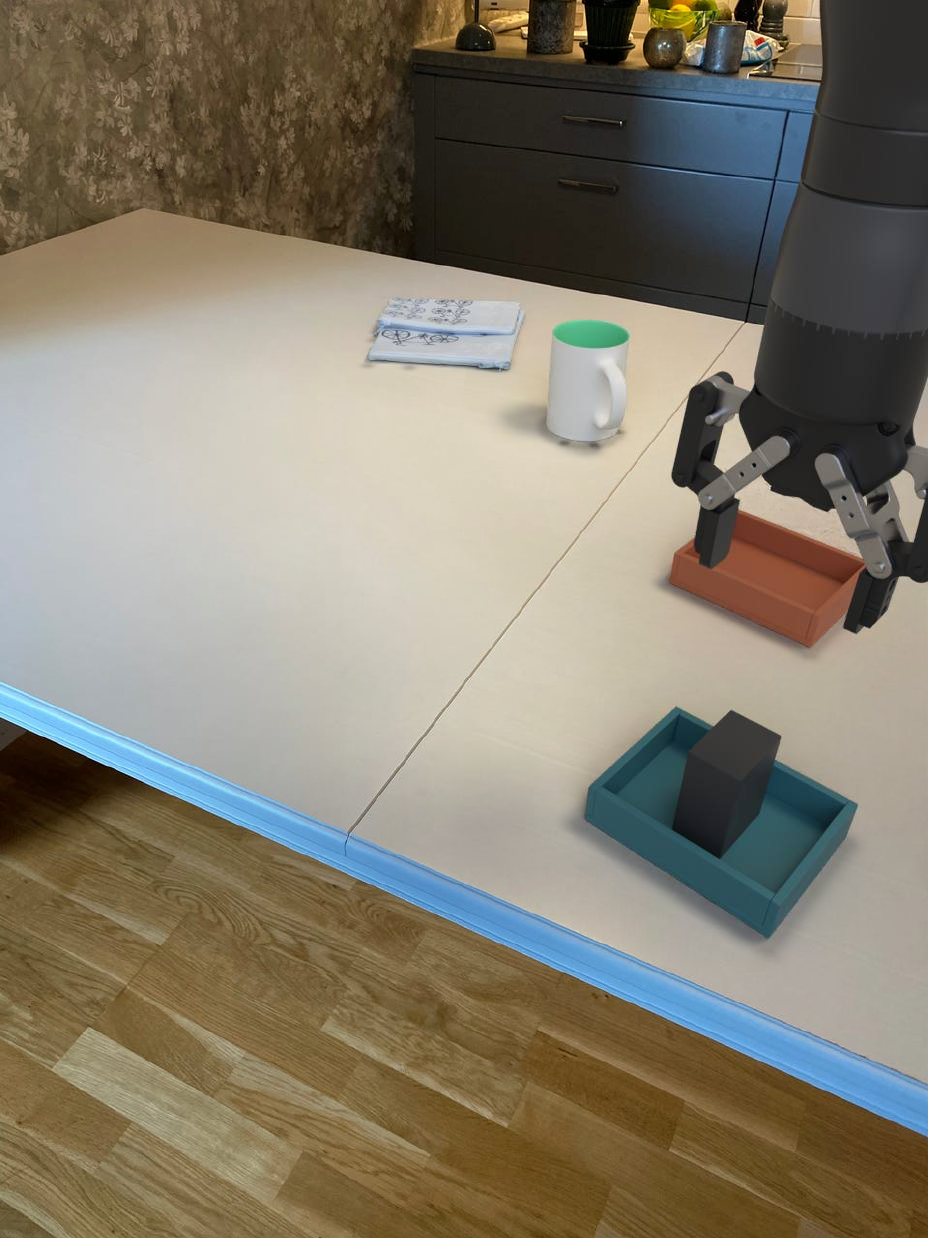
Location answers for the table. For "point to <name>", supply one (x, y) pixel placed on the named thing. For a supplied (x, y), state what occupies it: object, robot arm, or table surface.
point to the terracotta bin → (774, 578)
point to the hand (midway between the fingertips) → (782, 592)
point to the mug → (587, 380)
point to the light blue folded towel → (448, 332)
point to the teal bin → (757, 861)
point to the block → (725, 782)
